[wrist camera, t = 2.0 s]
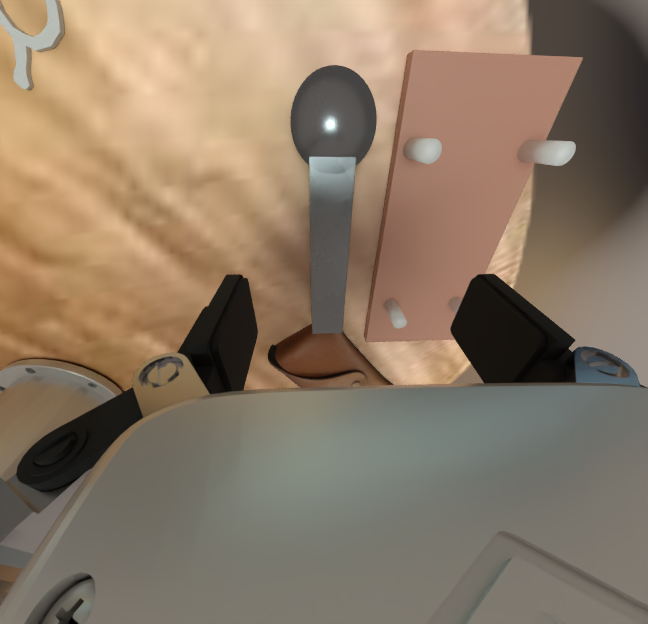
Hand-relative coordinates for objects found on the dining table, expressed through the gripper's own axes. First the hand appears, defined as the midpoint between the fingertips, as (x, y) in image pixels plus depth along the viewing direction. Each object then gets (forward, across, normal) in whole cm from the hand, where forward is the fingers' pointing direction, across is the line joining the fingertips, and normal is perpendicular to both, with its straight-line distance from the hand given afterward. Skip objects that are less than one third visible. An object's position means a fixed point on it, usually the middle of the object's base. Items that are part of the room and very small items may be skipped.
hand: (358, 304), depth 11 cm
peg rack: (+12, -9, +2) cm, 15 cm away
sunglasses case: (+12, -2, +18) cm, 22 cm away
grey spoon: (+12, +1, 0) cm, 12 cm away
